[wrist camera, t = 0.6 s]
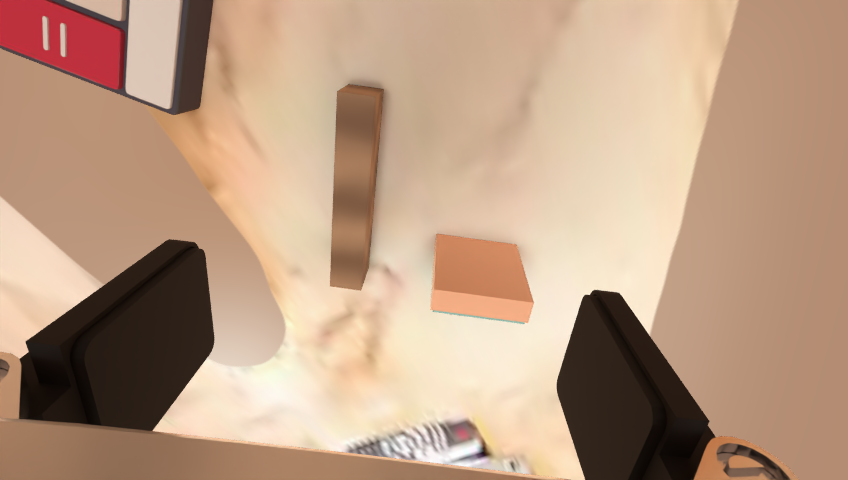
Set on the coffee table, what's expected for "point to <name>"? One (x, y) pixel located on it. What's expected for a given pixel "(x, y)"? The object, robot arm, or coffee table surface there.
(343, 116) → the stick
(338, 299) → the coffee table surface
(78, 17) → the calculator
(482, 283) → the tile
